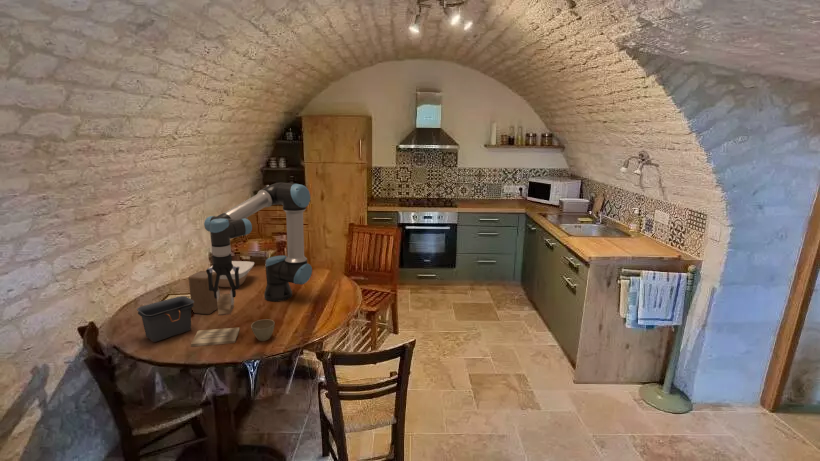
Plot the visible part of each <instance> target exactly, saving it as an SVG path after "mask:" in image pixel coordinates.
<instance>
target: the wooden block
mask: <svg viewBox="0 0 820 461" xmlns="http://www.w3.org/2000/svg"><path fill="white" fill-rule="evenodd" d="M216 275H217V273H216V272H212V279H213V287H214V286H215V281H216ZM188 286H189V294H190V299H191V300H193V301H194V303H193V305H194V306H193V307H192V308H191V311H192V310H193V312H194V313H193V312H192V313H193V314H201V315H210V314H212V313H214V312H215V311H216V310H217V311H218V306H217V298H214V292H213V291H209V284H208V274H207V272H206V270H200V271H197V272H195V273H193V274H191V275H189V276H188ZM217 290H219V291H220V288H219V287H218V289H217Z"/></svg>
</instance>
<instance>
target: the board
mask: <svg viewBox="0 0 820 461" xmlns="http://www.w3.org/2000/svg"><path fill="white" fill-rule="evenodd" d="M239 333H240V327H230V328H229V327H227V328H226V327H224V328H215V329H201V330H200V329H199V330H197V331H196V334H195V335H194V337H193V339H192V340H191V343H190V347H203V346H215V345H226V344H236V342H237V339H238V335H239Z"/></svg>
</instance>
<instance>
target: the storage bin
mask: <svg viewBox="0 0 820 461" xmlns="http://www.w3.org/2000/svg"><path fill="white" fill-rule="evenodd" d="M193 303H194V301H193V300H191V297H188V296H184V295H182V296H176V297H171V298H169V299H165V300H164V299H163V300H161V301H160V300H159V301H157V302H153V303H148V304H144V305H141V306H139V307H137V308H136V311H137V314H138V315H139V316H140V317H141V320H142V325H143V328H144V334H145V337H146V338H147V339H149V340H150V341H152V342H153V343H156V342H157V343H158V342H159V341H162V340H165V339H168V338H171V337H174V336H177V335H180V334H183V333H187V332H189V331H191V329H192V307H193V306H194V305H193Z"/></svg>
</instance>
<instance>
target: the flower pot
mask: <svg viewBox="0 0 820 461" xmlns="http://www.w3.org/2000/svg"><path fill="white" fill-rule="evenodd" d="M250 327H251V330H252V332H253V334H254V336H255V337H256V339H257V340H258V341H260V342H265V341H268V340H270V338H271V337H272V335H273V333H274V329H275V321H274V320H272V319H270V318H269V319H267V318H266V319H258V320H256V321H254V322H252V323H251V325H250Z"/></svg>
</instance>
